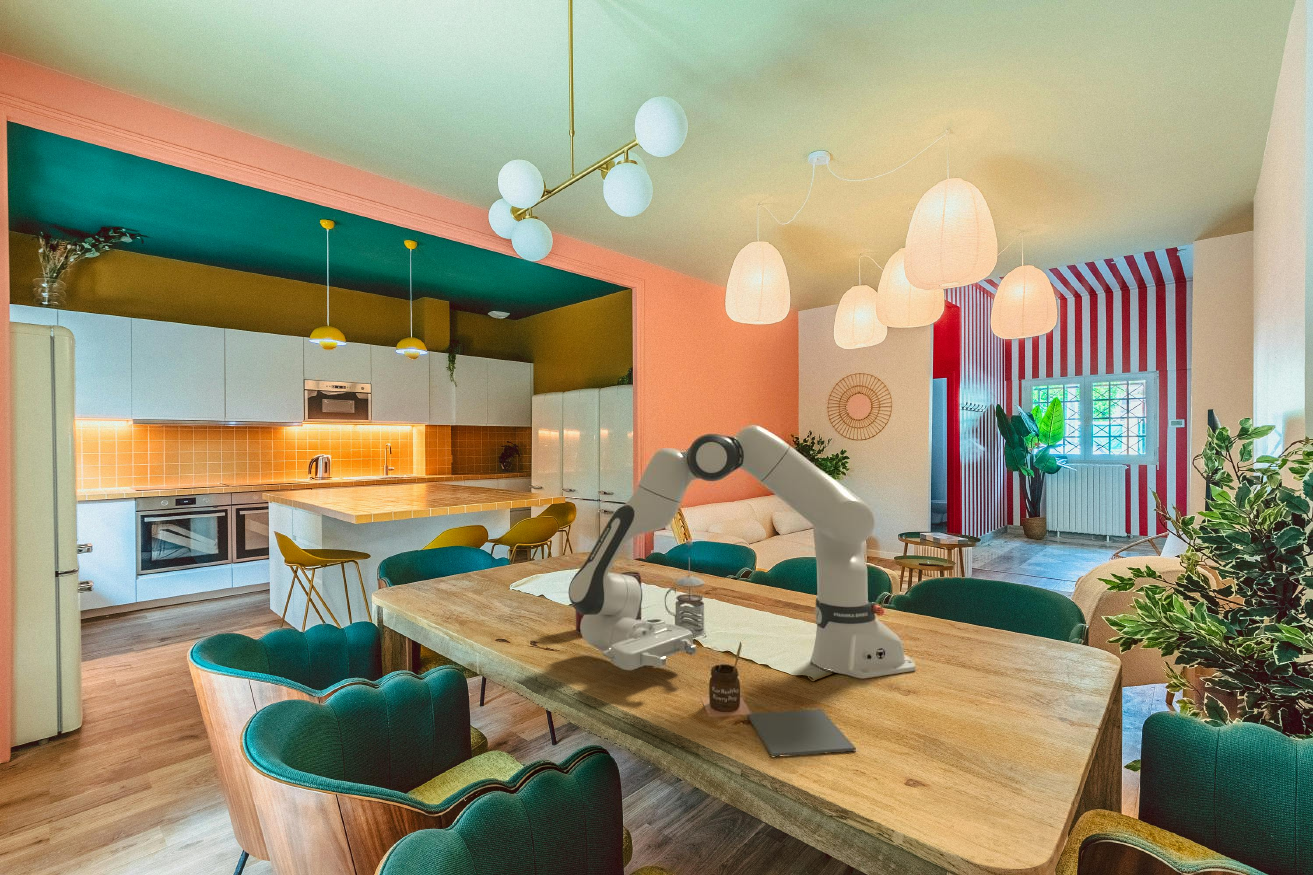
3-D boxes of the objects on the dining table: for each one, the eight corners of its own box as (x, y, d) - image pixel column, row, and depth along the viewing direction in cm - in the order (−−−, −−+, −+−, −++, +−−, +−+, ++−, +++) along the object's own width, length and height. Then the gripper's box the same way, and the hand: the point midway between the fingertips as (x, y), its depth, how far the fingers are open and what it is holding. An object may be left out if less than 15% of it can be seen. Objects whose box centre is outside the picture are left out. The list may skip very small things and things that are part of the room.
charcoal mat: (820, 712, 107) (820, 709, 107) (855, 751, 93) (855, 747, 93) (747, 717, 105) (747, 713, 105) (772, 757, 91) (772, 753, 91)
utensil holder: (708, 698, 113) (707, 637, 113) (740, 699, 113) (739, 637, 113) (710, 712, 107) (709, 647, 107) (743, 712, 107) (743, 648, 107)
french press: (709, 639, 149) (708, 543, 149) (664, 639, 149) (664, 543, 149) (706, 628, 158) (705, 537, 159) (664, 628, 158) (664, 537, 159)
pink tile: (740, 696, 114) (740, 695, 114) (751, 715, 106) (751, 713, 106) (700, 699, 113) (700, 698, 113) (709, 717, 105) (709, 716, 105)
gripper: (597, 637, 121) (642, 653, 111) (665, 617, 135) (710, 629, 126) (598, 667, 121) (643, 686, 111) (665, 644, 135) (710, 658, 125)
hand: (679, 656), depth 118 cm, fingers open, 8 cm apart
